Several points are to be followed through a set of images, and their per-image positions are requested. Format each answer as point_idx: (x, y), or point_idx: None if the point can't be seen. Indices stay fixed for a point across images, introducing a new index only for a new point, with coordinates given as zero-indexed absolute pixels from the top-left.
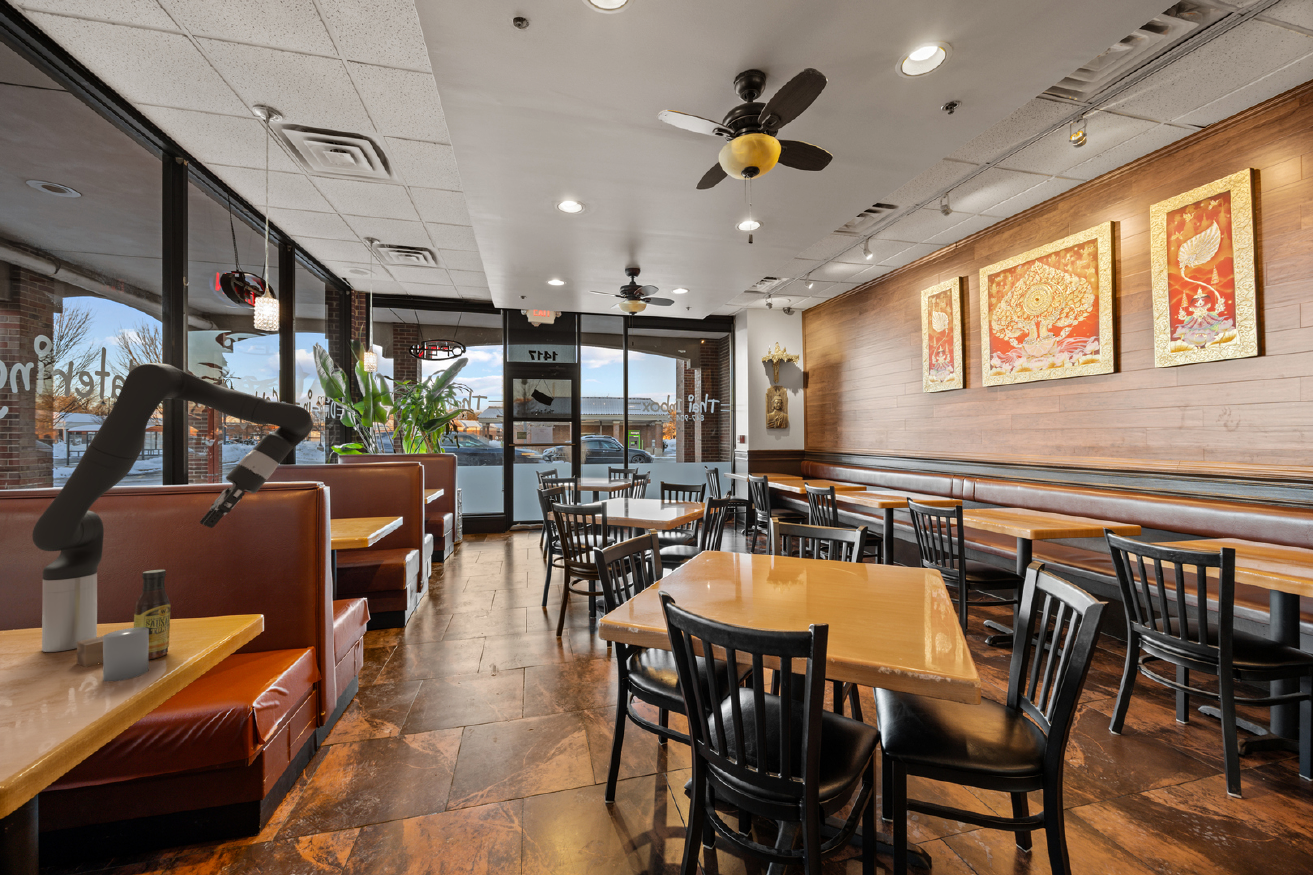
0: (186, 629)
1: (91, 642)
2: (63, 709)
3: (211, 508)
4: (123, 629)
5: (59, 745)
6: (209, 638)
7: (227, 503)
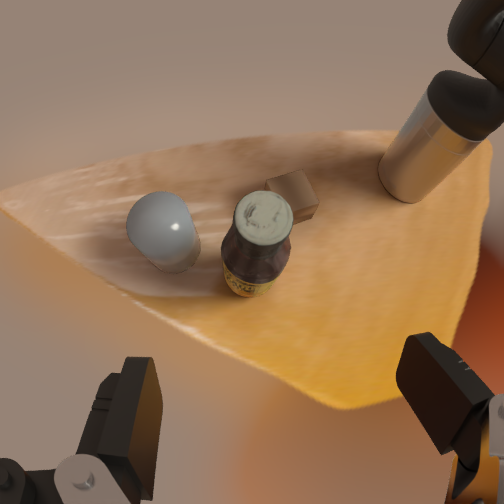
0: (400, 319)
1: (279, 185)
2: (89, 198)
3: (486, 413)
4: (188, 215)
5: (5, 213)
6: (305, 359)
7: None
